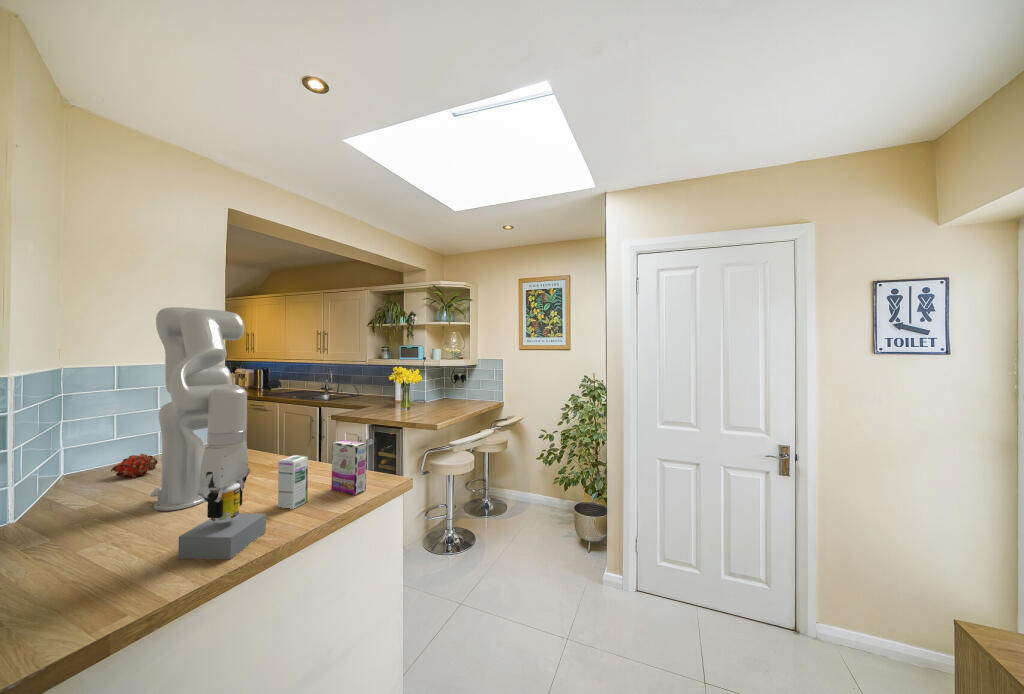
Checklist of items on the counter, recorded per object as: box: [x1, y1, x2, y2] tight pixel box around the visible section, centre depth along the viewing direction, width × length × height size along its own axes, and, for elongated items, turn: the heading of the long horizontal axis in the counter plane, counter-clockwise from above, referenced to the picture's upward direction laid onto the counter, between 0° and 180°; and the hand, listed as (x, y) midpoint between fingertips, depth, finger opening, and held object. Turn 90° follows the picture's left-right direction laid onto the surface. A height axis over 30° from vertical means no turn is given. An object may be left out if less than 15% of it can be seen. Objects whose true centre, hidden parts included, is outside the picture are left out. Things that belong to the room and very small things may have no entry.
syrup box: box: [277, 454, 309, 510], centre depth 113 cm, size 6×6×14 cm
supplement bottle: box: [211, 482, 240, 523], centre depth 90 cm, size 6×6×10 cm
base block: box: [177, 512, 267, 560], centre depth 90 cm, size 12×12×5 cm
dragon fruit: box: [110, 453, 159, 479], centre depth 134 cm, size 8×8×12 cm
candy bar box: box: [330, 439, 368, 496], centre depth 125 cm, size 11×5×16 cm, turn 68°
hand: (225, 510), depth 90 cm, fingers closed on supplement bottle, 5 cm apart
